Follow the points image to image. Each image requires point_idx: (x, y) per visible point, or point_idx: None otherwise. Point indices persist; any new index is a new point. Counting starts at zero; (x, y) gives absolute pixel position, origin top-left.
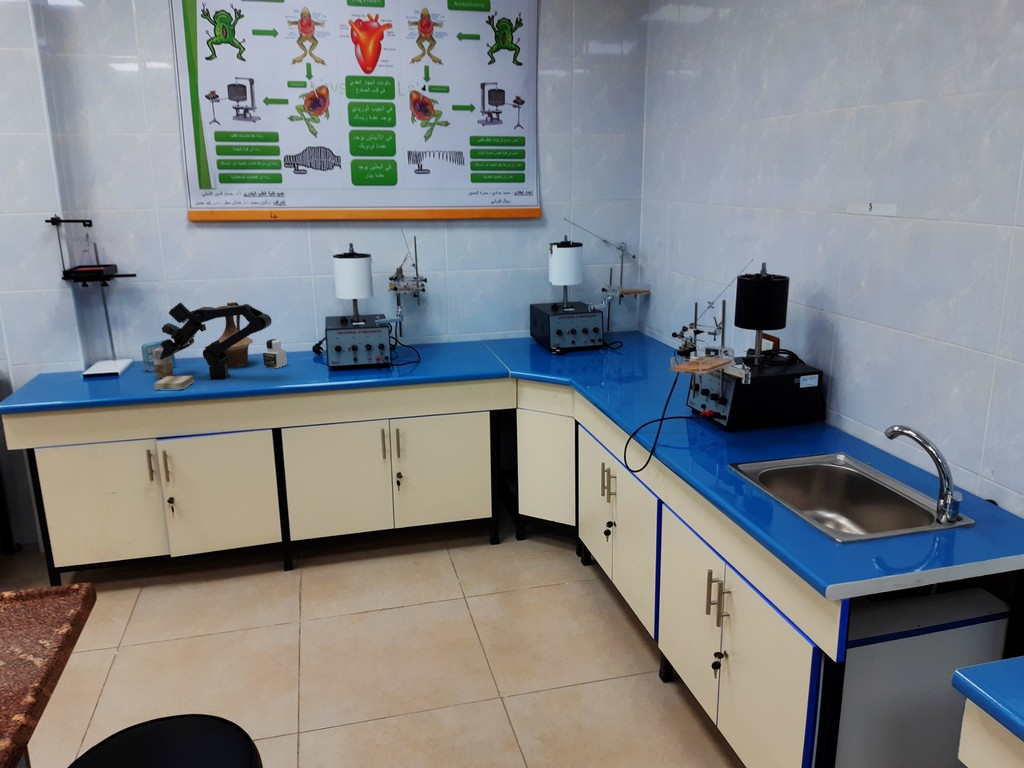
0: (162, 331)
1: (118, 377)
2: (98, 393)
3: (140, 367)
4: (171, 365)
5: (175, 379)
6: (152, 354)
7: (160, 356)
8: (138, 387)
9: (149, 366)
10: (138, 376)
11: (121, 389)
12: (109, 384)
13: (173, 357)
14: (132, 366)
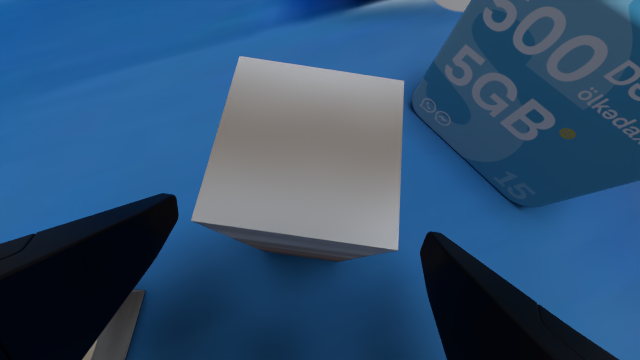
0: None
1: (324, 13)
2: (52, 14)
3: None
4: (337, 258)
5: None
6: (491, 56)
7: (133, 204)
8: (97, 148)
9: (425, 91)
10: None
11: (87, 82)
12: (206, 13)
13: (575, 189)
14: None
